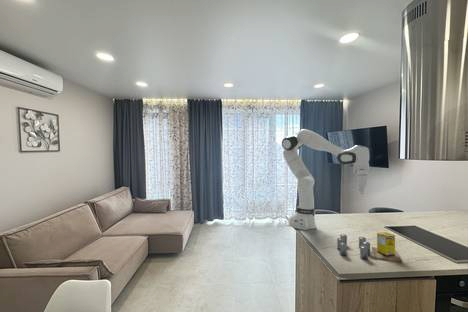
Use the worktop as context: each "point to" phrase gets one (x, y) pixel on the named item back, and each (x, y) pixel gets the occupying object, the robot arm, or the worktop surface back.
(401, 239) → the worktop surface
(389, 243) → the supplement box
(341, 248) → the spacer field
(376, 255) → the walnut pad
